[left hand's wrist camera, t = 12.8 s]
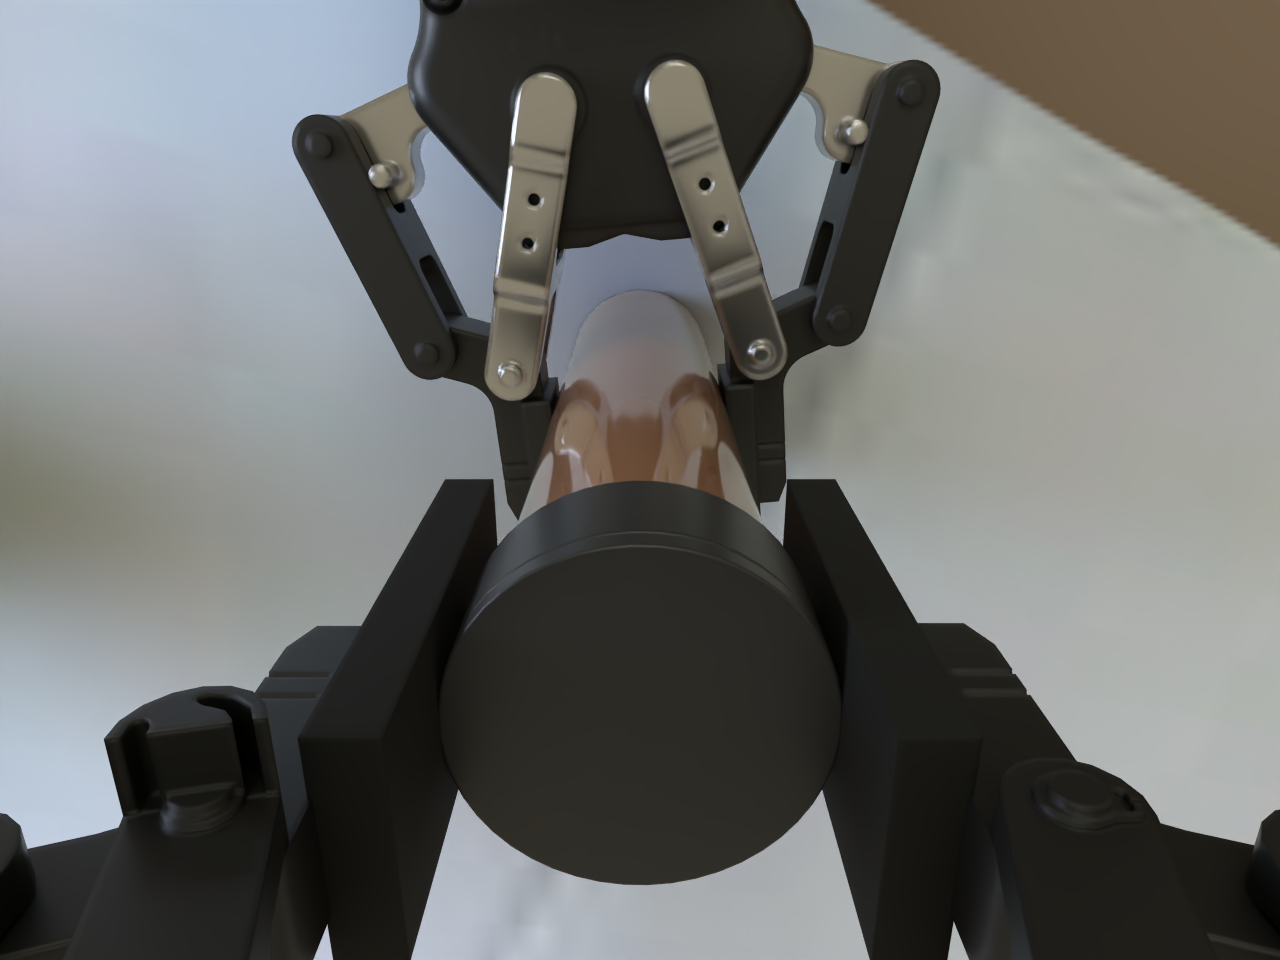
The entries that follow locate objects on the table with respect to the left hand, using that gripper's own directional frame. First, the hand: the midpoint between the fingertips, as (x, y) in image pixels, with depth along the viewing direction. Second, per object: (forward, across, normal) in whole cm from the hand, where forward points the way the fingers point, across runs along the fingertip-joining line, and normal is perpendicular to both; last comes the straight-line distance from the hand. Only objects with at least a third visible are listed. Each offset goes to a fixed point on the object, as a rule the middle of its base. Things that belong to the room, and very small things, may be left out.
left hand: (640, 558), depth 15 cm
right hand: (+8, 0, -3) cm, 8 cm away
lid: (-4, 0, 0) cm, 4 cm away
